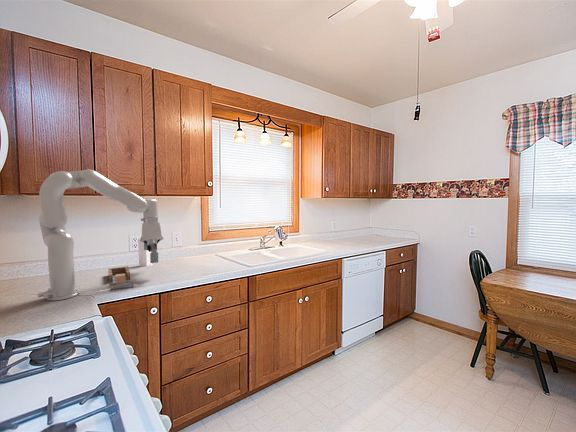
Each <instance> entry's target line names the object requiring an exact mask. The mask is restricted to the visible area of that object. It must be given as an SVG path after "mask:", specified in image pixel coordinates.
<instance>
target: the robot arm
mask: <svg viewBox="0 0 576 432" xmlns="http://www.w3.org/2000/svg"><path fill="white" fill-rule="evenodd" d="M86 187H87V188H90V189H92V190H93V191H95V192H97V193H99V194H100V195H102V196H103V197H105V198H106V199H109V200H113V201H116V202H118V203H122V204H123V205H125V206H126V208H127V210H128V211H129V212H132V213H142V214H143V217H141V218H140V221H141V222H142V224H141V237H140V238H141V239H140V238H139V239H140V241H141V242H144V243H145V244H147V250H148V251H149V252H151V250H150V244H149V240H154V245H155V247H156V249H157V250H158V244H159V243H160V241H161V242H162V241H163V240H164V237H163V236H162V229H161V223H160V222H159V216H158V201H157V199H155V198H146V199H144V198H143V197H141V196H139V195H138V194H136V193H134V192H132V191H130V190H128V189H126V188H125V187H123V186H121V185H119V184H117V183H115V182H113V181H112V180H111V179H109V178H107V177H105V176H104V175H102V174H101V173H99V172H98V171H96V170H94V169H89V168H87V169H83V170H76V171H64V170H63V171H62V170H59V171H55V172H52V173H51V174H50V175H48V176H47V178H45V180H44V181H43V182H42V183H41V186H40V188H39V194H38V195H39V202H40V209H41V213H40V214H39V217H38V221H39V226H40V230H41V235H42V240H43V243H44V245H45V246H46V247H47V264H48V277H49V288H47V290H45V291H44V292H38V293H37V294H36V295H37V298H46V300H47V301H61V300H62V301H63V300H66V299H71V298H74V297H76V296H78V295H80V290H79V289H77V288H76V279H75V275H76V274H75V262H74V261H75V260H74V248H75V247H74V245H75V244H74V243H75V242H74V238H73V236H72V235H71V234H70V233H68V231H67V228H66V224H67V223H68V216H67V212H66V207H65V203H64V193H65V191H66V190H68V189H79V188H86ZM145 240H146V241H145Z"/></svg>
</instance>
